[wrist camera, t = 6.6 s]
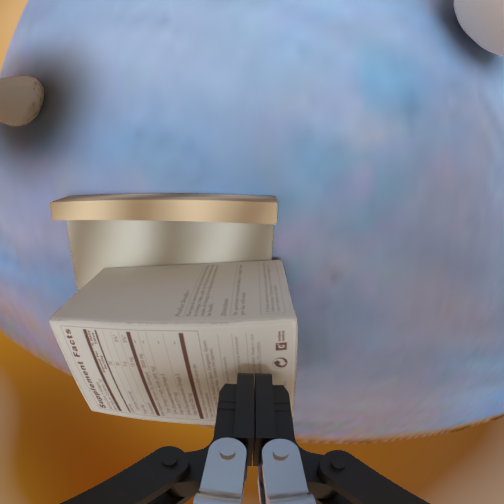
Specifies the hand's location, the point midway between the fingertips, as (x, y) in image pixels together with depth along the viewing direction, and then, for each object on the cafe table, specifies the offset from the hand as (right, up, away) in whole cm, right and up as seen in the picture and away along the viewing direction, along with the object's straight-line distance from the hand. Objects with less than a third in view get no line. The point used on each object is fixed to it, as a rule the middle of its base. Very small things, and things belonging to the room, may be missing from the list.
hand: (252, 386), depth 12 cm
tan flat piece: (-6, +3, +8) cm, 11 cm away
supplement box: (+2, +1, +4) cm, 5 cm away
